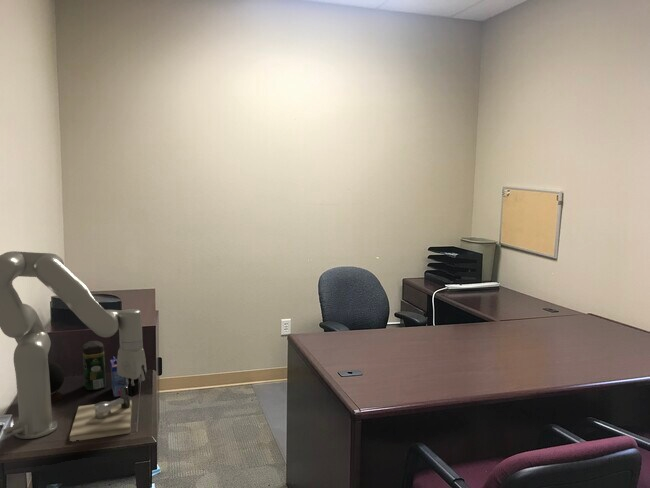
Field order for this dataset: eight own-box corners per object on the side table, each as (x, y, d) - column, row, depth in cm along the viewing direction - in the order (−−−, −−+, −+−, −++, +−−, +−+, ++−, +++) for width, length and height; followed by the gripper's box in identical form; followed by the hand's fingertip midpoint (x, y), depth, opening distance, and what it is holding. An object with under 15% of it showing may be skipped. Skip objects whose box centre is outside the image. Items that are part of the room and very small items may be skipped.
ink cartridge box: (110, 388, 209) (109, 353, 207) (125, 386, 211) (123, 351, 210) (113, 397, 200) (111, 361, 198) (128, 394, 202) (126, 358, 201)
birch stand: (130, 433, 170) (130, 426, 170) (69, 441, 164) (69, 435, 164) (131, 404, 193) (131, 399, 192) (78, 411, 187) (78, 405, 187)
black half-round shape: (22, 399, 198) (20, 361, 197) (60, 390, 207) (57, 354, 206) (31, 409, 189) (28, 370, 187) (69, 400, 197) (67, 362, 196)
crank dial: (100, 419, 175) (99, 399, 174) (92, 416, 178) (91, 396, 177) (133, 406, 186) (132, 387, 185) (124, 403, 188) (123, 384, 188)
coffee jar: (83, 384, 213) (81, 340, 211) (104, 381, 217) (102, 338, 215) (85, 392, 205) (83, 347, 203) (107, 388, 208) (104, 344, 207)
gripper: (107, 344, 181) (109, 395, 183) (138, 350, 174) (140, 402, 176) (124, 339, 188) (126, 388, 189) (155, 344, 181) (156, 395, 183)
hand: (133, 395), depth 183 cm, fingers closed
